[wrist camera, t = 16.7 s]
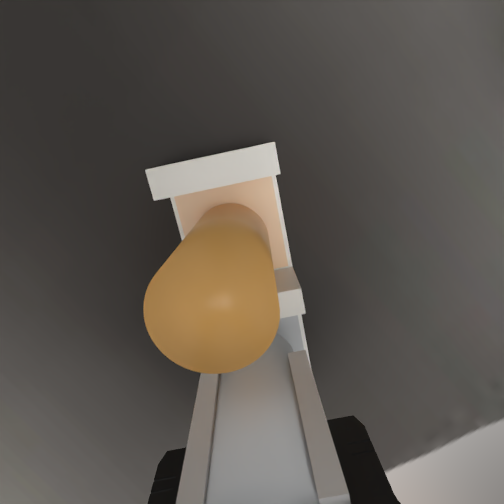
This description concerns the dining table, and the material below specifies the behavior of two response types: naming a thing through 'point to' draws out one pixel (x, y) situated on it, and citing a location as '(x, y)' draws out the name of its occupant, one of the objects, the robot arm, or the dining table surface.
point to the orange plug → (216, 294)
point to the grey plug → (260, 436)
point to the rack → (244, 193)
